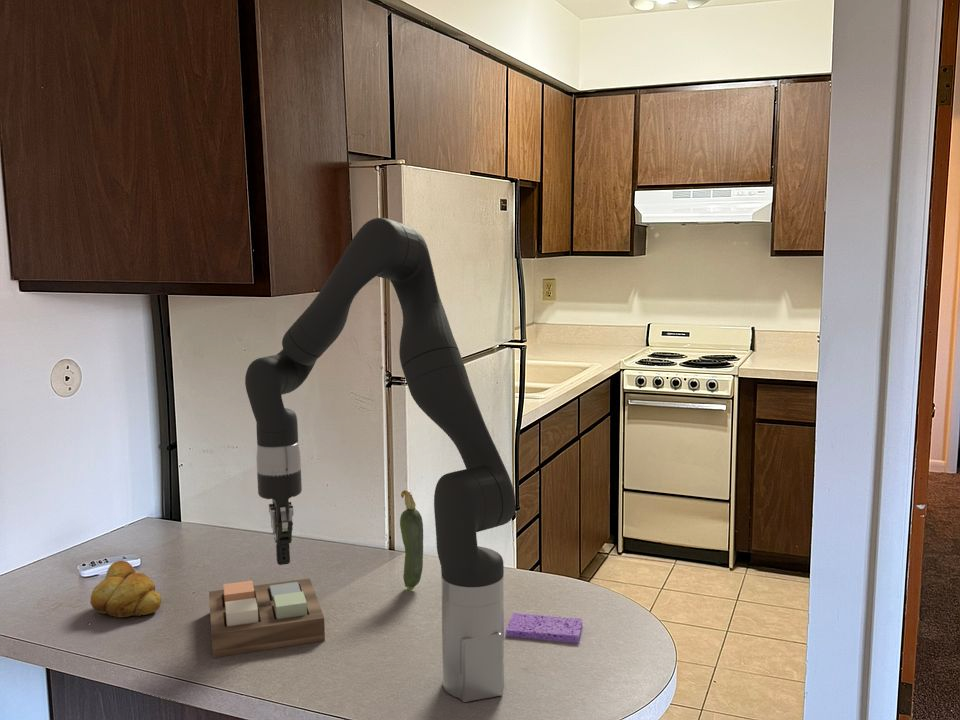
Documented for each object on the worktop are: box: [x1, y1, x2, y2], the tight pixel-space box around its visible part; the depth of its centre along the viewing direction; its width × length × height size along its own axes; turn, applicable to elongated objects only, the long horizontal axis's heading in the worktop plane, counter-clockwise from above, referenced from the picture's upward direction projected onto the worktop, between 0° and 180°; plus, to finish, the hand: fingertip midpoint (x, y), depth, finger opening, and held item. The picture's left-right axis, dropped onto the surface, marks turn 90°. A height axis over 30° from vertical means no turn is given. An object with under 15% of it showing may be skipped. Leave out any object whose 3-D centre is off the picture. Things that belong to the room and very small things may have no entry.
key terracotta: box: [222, 580, 255, 603], centre depth 150 cm, size 5×5×3 cm
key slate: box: [270, 582, 301, 601], centre depth 153 cm, size 5×5×3 cm
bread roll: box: [89, 560, 162, 618], centre depth 155 cm, size 13×10×8 cm
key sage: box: [274, 591, 307, 619], centre depth 145 cm, size 5×5×3 cm
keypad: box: [208, 578, 326, 659], centre depth 148 cm, size 18×18×4 cm
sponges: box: [505, 611, 583, 644], centre depth 146 cm, size 7×13×2 cm, turn 77°
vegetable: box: [399, 489, 424, 591], centre depth 162 cm, size 4×4×20 cm
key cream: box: [225, 598, 258, 626], centre depth 143 cm, size 5×5×3 cm
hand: (283, 562), depth 152 cm, fingers closed
